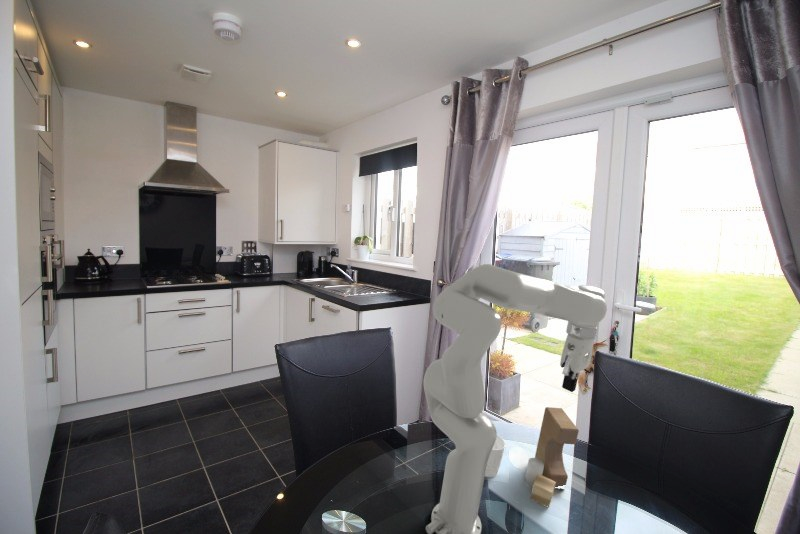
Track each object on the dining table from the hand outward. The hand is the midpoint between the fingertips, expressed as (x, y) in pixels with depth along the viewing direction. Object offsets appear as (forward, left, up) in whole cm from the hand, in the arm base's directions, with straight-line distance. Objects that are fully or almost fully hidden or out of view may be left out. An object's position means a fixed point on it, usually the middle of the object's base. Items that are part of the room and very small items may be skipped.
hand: (568, 389), depth 113 cm
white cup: (-14, +13, -30) cm, 35 cm away
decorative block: (0, 0, -30) cm, 30 cm away
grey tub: (-6, +2, -29) cm, 30 cm away
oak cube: (-10, -3, -29) cm, 31 cm away
